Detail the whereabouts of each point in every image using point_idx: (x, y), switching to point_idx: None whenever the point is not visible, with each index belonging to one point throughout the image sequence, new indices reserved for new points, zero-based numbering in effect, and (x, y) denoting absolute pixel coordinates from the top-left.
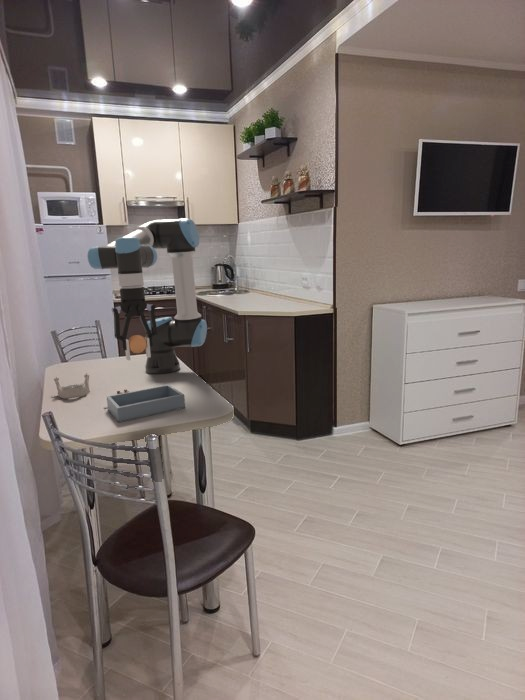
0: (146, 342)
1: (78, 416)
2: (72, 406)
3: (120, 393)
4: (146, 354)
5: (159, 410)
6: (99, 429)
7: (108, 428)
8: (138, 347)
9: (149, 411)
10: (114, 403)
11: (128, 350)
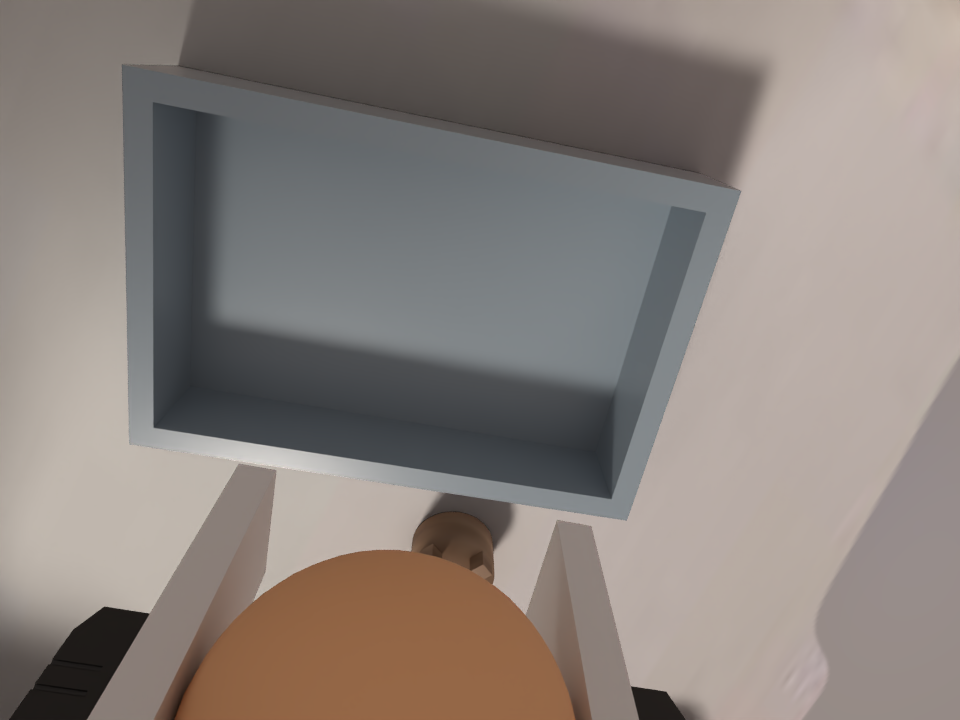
0: (178, 709)
1: (790, 474)
2: (713, 645)
3: (483, 563)
4: (257, 580)
5: (394, 112)
6: (860, 143)
7: (814, 111)
8: (444, 582)
9: (475, 129)
10: (684, 324)
11: (599, 644)
